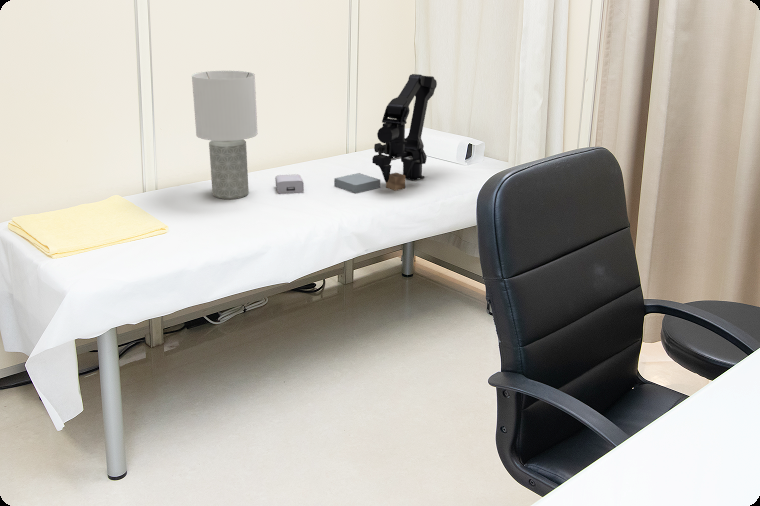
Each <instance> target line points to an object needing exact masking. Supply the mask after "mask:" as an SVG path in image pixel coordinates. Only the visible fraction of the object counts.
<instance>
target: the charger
mask: <svg viewBox="0 0 760 506" xmlns="http://www.w3.org/2000/svg"><path fill="white" fill-rule="evenodd" d="M274 179H275V188H276V190H277V193H278V195H281V194H283V195H284V194H301V193H304V191H305V188H304V187H305V186H304V180H303V178H302V176H301V175H300V174H296V173H295V174H278V175H276V176H275V178H274Z"/></svg>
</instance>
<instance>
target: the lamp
mask: <svg viewBox="0 0 760 506" xmlns="http://www.w3.org/2000/svg"><path fill="white" fill-rule="evenodd" d="M255 75H256V74H255V73H252V72H251V71H250V72H249V71H241V70H210V71H208V70H207V71H201V72H196V73H193V74H191V82H192V95H193V111H194V120H195V123H194V124H195V136H196V137H197V138H199V139H202V140H206V141H209V142H208V148H209V151H208V152H209V165H210V176H211V189H212V190H211V193H212V195H213V197H215V198H217V199H220V198H222V200H223V199H224V200H236V199H235V198H237V199H242V198H244V196H245V197H247V195H248V194H249V190H250V189H249V173H248V151H247V141H246V140H248V139H251V138H252V139H253V138H254V137H256V136H257V135H258V116H257V113H258V112H257V100H256V99H257V96H256V95H257V92H256V76H255ZM241 197H242V198H241Z"/></svg>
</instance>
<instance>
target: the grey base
mask: <svg viewBox="0 0 760 506" xmlns="http://www.w3.org/2000/svg"><path fill="white" fill-rule="evenodd" d="M333 179H334V180H333V181H334V185H333V186H334V187H336V188H339V189H342V190H343V191H344V190H345V191H347V192H350V193H354V194H358V193H363V192H367V191H371V190H375V189H379V188H381V179H380V178H377V177H374V176H369V175H367V174H364V173H361V172H357V173H351V174H348V175H344V176H338V177H334V178H333Z"/></svg>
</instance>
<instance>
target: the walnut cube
mask: <svg viewBox="0 0 760 506" xmlns="http://www.w3.org/2000/svg"><path fill="white" fill-rule="evenodd" d="M385 188H386V189H388V190H391V191H395V192H396V191H399V190H404V189H406V178H405V175H403V173H398V172H392V173H390V175H389V180H388V182H385Z"/></svg>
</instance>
